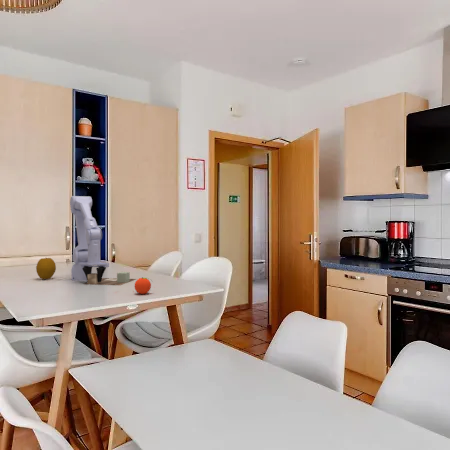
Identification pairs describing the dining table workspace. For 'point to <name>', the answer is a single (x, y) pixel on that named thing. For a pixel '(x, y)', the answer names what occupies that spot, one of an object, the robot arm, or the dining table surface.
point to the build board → (110, 281)
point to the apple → (45, 268)
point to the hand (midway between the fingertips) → (94, 281)
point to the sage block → (123, 277)
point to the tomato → (142, 285)
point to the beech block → (93, 278)
